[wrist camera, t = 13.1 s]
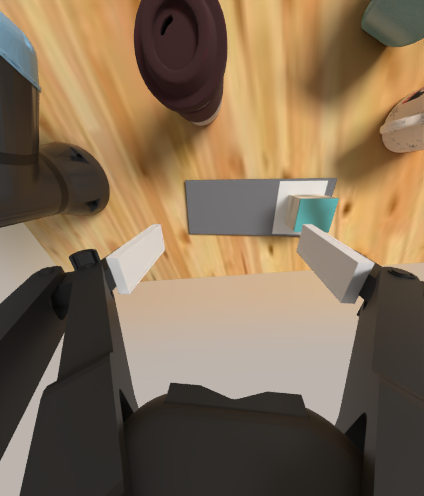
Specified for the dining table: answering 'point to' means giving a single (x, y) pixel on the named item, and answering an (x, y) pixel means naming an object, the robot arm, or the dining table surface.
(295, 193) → the charcoal mat
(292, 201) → the birch cube
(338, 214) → the dining table surface
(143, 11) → the coffee cup
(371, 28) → the flower pot
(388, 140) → the teacup with lid
